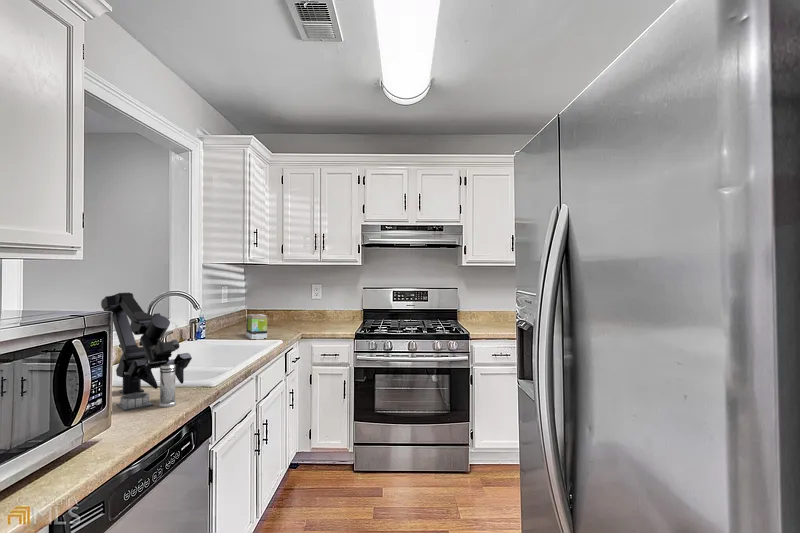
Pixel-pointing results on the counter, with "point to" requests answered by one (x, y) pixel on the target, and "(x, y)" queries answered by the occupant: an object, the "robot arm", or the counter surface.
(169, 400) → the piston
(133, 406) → the sleeve
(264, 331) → the tea box
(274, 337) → the counter surface
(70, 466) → the counter surface
